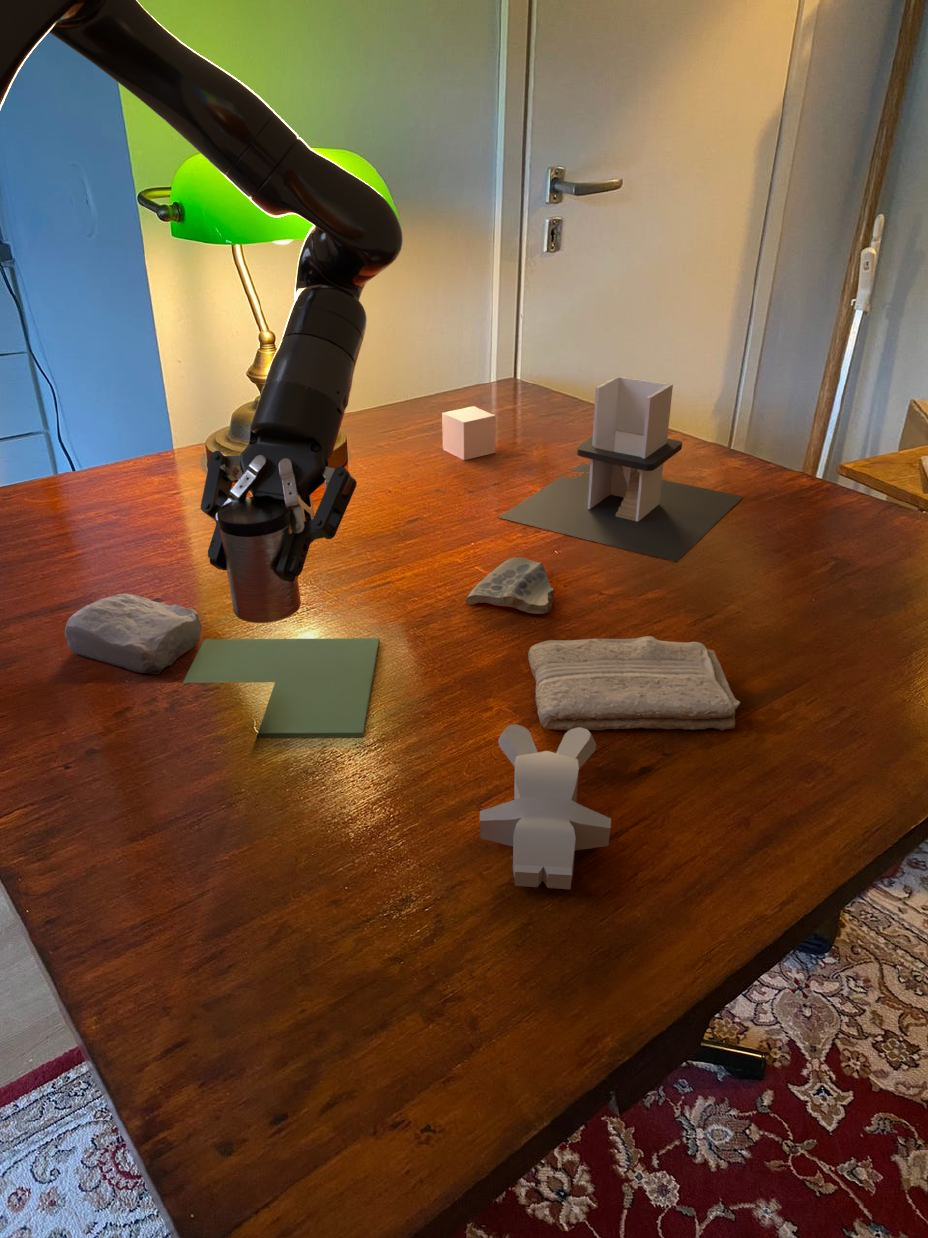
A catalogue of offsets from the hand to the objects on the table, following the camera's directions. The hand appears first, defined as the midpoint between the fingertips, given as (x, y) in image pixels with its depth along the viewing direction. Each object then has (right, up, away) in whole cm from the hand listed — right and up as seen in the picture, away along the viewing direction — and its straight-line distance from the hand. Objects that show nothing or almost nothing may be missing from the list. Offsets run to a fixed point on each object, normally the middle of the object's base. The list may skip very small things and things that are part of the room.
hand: (251, 572), depth 78 cm
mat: (+1, -10, +8) cm, 13 cm away
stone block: (-15, -7, +15) cm, 22 cm away
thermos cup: (+1, -3, +4) cm, 5 cm away
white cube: (+19, +22, +65) cm, 71 cm away
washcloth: (+34, -11, +6) cm, 36 cm away
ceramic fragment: (+25, -2, +23) cm, 34 cm away
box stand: (+40, +11, +45) cm, 61 cm away
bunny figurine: (+25, -20, -9) cm, 33 cm away
